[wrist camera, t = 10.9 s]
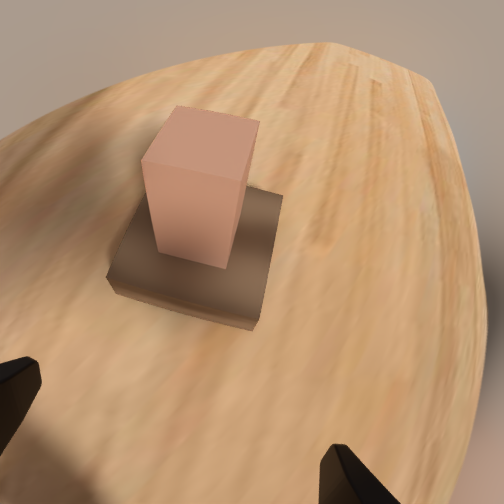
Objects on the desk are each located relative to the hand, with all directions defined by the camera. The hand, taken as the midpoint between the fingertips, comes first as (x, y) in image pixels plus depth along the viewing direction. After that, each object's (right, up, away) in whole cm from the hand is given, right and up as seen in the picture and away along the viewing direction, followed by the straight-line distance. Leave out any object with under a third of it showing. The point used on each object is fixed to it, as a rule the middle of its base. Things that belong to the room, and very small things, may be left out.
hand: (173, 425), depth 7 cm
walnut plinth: (-2, +5, +18) cm, 19 cm away
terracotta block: (-2, +6, +16) cm, 17 cm away
